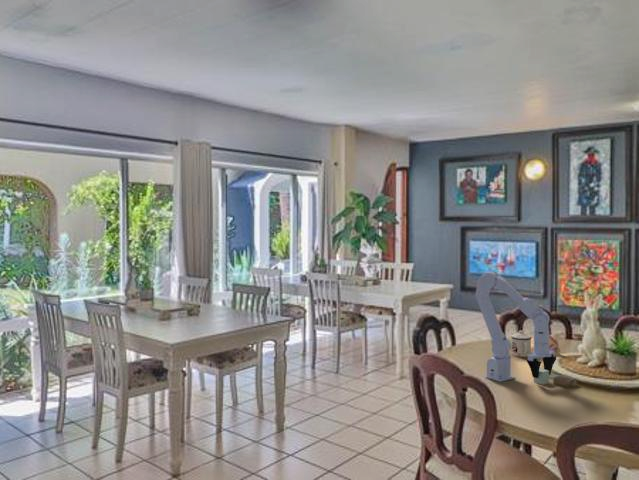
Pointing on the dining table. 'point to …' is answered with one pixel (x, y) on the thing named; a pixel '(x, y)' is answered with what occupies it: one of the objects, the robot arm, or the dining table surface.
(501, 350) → the robot arm
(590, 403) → the dining table surface
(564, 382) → the walnut slab
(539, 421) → the dining table surface
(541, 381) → the sage block
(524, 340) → the teacup with lid
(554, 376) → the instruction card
